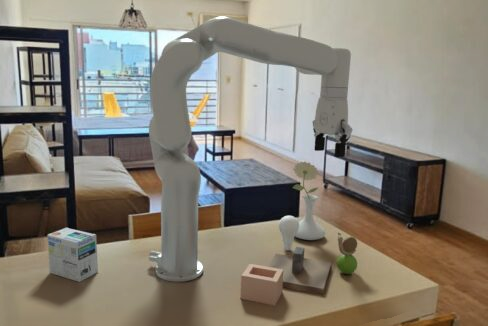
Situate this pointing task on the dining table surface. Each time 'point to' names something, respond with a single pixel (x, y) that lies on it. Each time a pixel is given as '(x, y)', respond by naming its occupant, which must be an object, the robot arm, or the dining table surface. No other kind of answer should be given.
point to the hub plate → (302, 271)
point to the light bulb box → (72, 254)
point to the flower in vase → (308, 204)
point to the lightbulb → (288, 230)
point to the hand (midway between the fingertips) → (329, 153)
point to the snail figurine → (347, 255)
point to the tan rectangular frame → (261, 284)
